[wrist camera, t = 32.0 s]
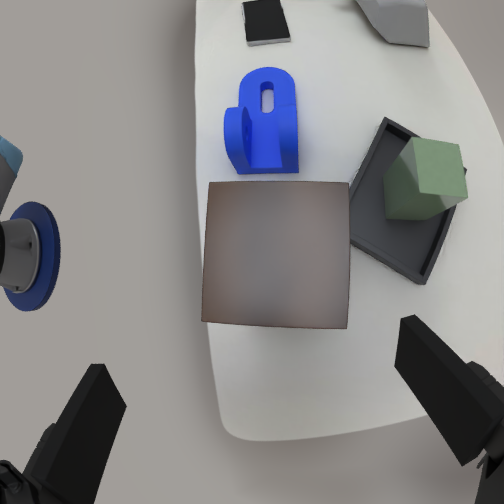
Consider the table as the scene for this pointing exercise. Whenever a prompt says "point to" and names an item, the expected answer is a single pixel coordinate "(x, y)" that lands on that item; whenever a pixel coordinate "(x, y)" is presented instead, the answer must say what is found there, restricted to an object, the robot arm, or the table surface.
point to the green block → (424, 180)
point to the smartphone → (264, 22)
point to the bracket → (263, 125)
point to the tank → (399, 20)
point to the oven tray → (393, 230)
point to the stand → (277, 254)
